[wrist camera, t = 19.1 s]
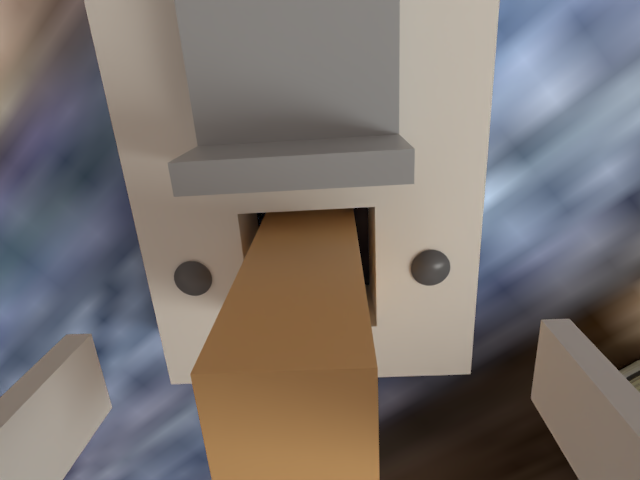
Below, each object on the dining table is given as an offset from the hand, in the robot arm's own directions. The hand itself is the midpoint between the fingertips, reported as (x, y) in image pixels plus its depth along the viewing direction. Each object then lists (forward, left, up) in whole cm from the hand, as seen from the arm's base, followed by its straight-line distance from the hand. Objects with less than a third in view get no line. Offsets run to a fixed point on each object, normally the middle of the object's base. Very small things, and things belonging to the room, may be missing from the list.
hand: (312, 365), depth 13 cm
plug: (0, 0, -10) cm, 10 cm away
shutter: (+8, 0, -6) cm, 10 cm away
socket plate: (+4, 0, -10) cm, 11 cm away
